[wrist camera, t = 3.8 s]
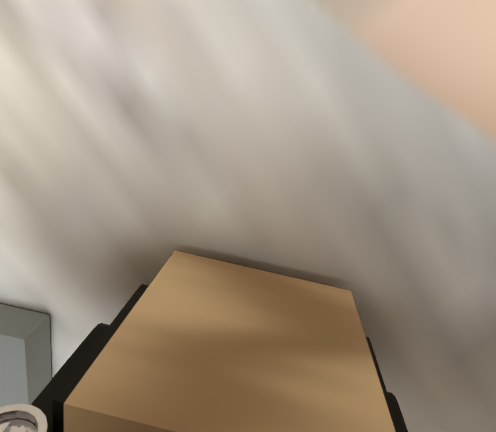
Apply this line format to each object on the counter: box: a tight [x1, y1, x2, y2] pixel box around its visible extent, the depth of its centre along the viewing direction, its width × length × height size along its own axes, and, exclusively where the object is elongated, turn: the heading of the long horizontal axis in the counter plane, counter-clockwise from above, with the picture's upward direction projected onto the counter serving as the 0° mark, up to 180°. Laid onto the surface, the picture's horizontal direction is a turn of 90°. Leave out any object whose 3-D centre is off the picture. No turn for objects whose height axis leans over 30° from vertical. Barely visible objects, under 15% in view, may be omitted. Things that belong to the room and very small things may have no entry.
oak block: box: [64, 251, 395, 432], centre depth 8 cm, size 5×5×5 cm
